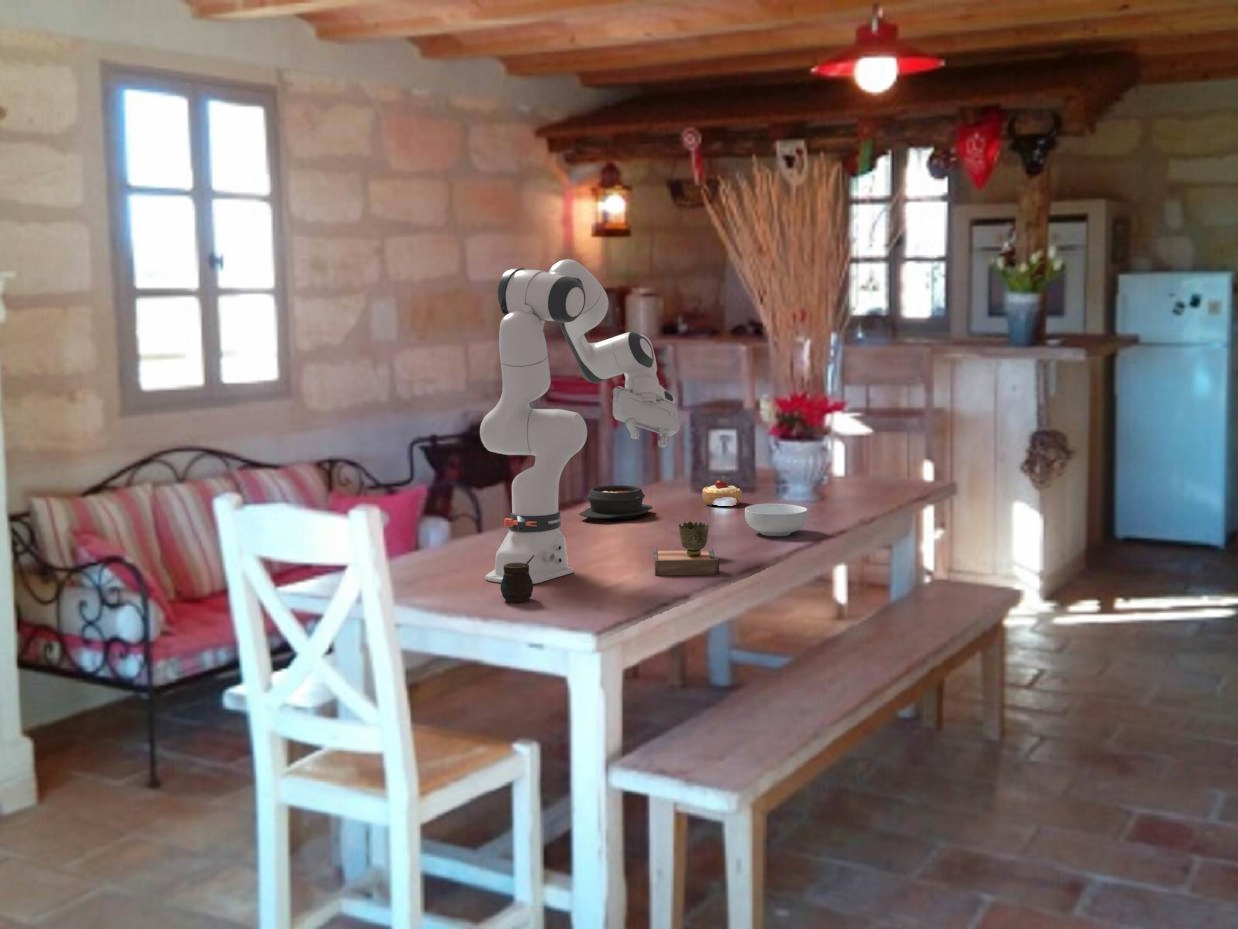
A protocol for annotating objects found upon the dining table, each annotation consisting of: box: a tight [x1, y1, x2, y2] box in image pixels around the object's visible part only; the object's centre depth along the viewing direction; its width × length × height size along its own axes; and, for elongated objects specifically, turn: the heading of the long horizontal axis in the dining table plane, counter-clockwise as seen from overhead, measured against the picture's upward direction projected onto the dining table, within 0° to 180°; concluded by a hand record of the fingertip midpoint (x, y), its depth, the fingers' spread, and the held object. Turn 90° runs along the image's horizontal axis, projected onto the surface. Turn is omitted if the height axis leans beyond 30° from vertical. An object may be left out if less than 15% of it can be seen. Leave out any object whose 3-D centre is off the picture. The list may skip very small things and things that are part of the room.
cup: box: [678, 521, 710, 557], centre depth 352 cm, size 8×7×8 cm
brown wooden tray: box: [652, 547, 720, 576], centre depth 347 cm, size 32×15×4 cm, turn 179°
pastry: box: [701, 475, 743, 507], centre depth 429 cm, size 12×12×9 cm
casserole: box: [578, 484, 653, 521], centre depth 411 cm, size 25×19×8 cm
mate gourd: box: [499, 555, 534, 603], centre depth 308 cm, size 7×8×10 cm
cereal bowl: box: [744, 503, 808, 537], centre depth 381 cm, size 17×17×7 cm
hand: (649, 442), depth 356 cm, fingers open, 8 cm apart
